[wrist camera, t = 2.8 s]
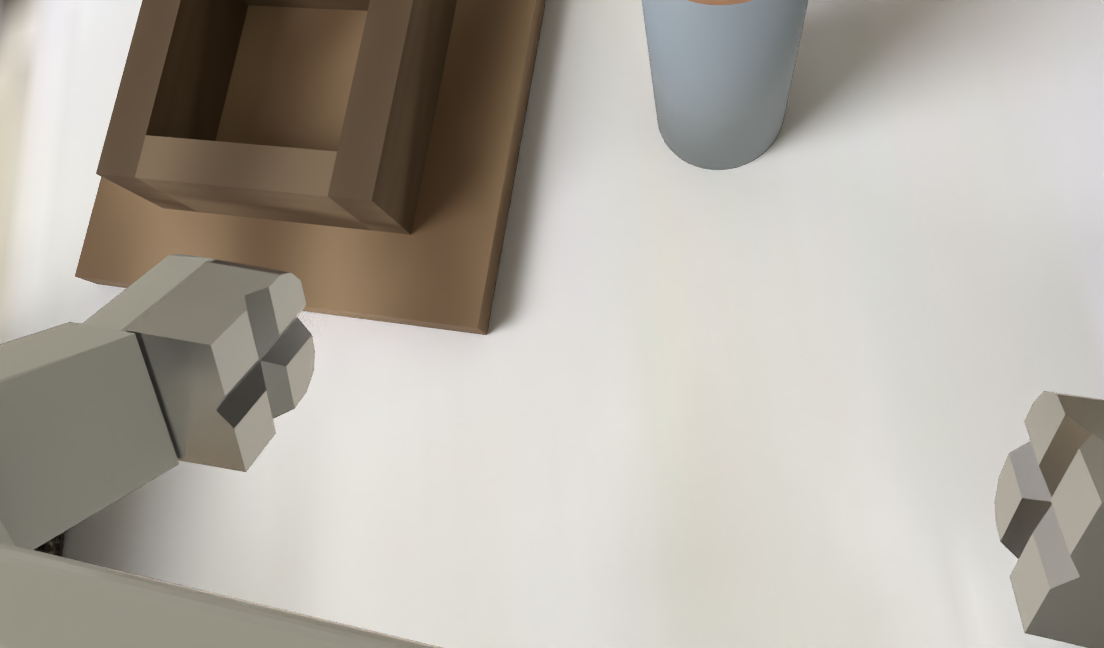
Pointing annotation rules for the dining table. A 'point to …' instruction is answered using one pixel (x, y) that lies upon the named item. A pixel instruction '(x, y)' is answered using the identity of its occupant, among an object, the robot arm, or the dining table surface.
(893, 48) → the dining table surface
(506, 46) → the cradle
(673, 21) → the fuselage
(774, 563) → the dining table surface
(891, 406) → the dining table surface
